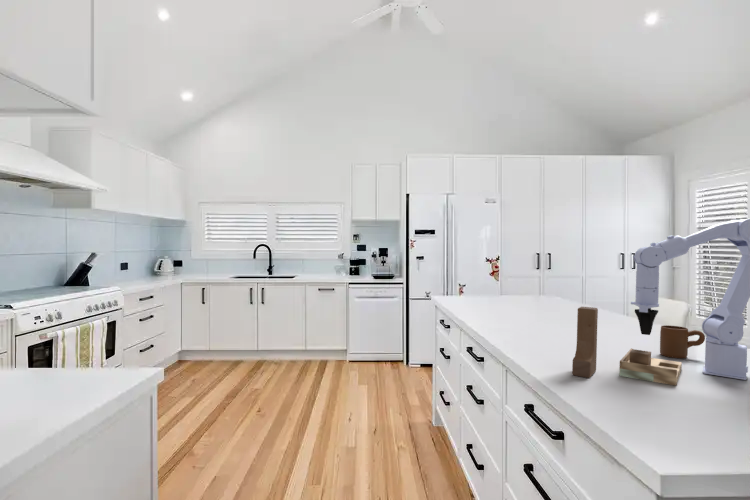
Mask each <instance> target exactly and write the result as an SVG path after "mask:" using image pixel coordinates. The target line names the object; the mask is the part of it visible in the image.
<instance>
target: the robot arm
mask: <svg viewBox="0 0 750 500" xmlns="http://www.w3.org/2000/svg"><path fill="white" fill-rule="evenodd" d="M716 239H726V240H727V241H728V242H730V243H731V244H733V245H734V246H735V247H736V248H737V250H739V252H740V254H741V257H740V260H739V262H738V264H737V266H736V269H735V270H734V272H733V274H732V277H731V280H730V281H729V284H728V286H727V287H726V290H725V293H724V294H723V297H722V299H721V301H720V302H719V303H720V304H719V305H718V306H717V307H716V308H714V309H713V310H711V313H710V315H708V317H706V318H705V319H704V320H703V321H702V324H701V330H702V331H703V332H702V333H703V334H704V335H705V346H704V347H705V349H704V350H705V351H704V352H705V353H704V366H702V374H706V375H713V376H719V377H724V378H731V379H738V380H745V381H746V380H747V373H748V372H749V366H748V365H747V364H748V363H747V362H748V347H747V345H744V344H739V342H741V340H742V339H743V337H744V326H745V323H746V320H745V318H744V315H743V313H744V311H745V308H746V306H747V304H748V302H749V300H750V218H744V219H743V218H742V219H731V220H729V221H726V222H725V221H724V222H720V223H717V224H714V225H711V226H709V227H706V228H704V229H702V230H699V231H697V232H694V233H692V234H689V235H687V236H685V237H683V236H680V235H673V234H671V235H668V236H666V239H664V240H661V241H659V242H654V241H653V242H651V243H650V245H649V246H642V247H640V248H638V249H637V251H635V253H634V255H633V260H634V263H635V264H636V272H635V301H630V305H635V306H636V307H638V308H637V309H636V308H635V309H634V313H635V315H636V317H637V320H638V323H639V329H640V333H641V335H645V336H646V335H647V336H651V333H652V330H653V325H654V322H655V320H656V319H655V318H656V317H657V315H658V313H659V310H658V309H652V308H658V307H660V303H659V289H660V287H659V284H660V265H662V263H663V262H664V263H665V262H667V261H669V260H673V259H675V258H678V257H681V256H684V255H686V254H688V252H689V249H690V248H693V247H697V246H699V245H701V244H705V243H708V242H711V241H714V240H716Z"/></svg>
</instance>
